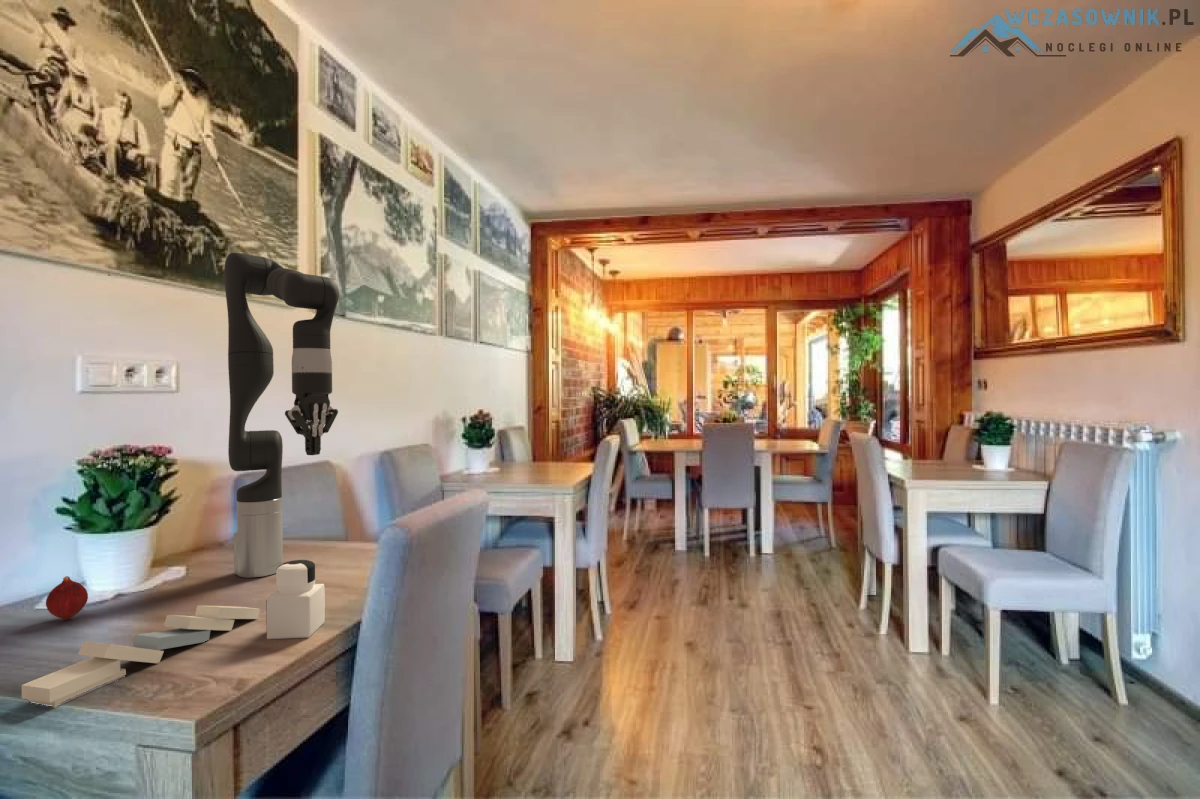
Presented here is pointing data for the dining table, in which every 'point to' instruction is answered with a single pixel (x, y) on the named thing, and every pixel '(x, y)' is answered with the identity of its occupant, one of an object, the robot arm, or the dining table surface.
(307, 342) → the robot arm
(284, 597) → the medicine bottle
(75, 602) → the onion
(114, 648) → the domino
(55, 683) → the domino
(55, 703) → the domino
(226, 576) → the dining table surface
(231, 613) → the domino
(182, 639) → the domino
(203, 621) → the domino
